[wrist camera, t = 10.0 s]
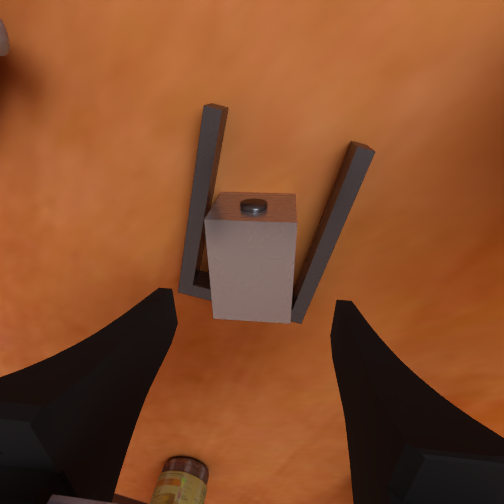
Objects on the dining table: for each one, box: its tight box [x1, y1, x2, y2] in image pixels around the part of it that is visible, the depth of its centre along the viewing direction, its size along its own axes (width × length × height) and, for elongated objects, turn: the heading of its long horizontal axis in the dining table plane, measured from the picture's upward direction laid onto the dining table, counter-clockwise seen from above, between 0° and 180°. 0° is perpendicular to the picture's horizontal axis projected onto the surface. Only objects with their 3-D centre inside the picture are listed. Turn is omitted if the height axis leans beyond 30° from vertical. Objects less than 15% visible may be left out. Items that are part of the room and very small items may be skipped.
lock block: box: [204, 192, 297, 324], centre depth 20 cm, size 5×7×5 cm
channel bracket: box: [178, 103, 375, 324], centre depth 20 cm, size 10×13×2 cm
